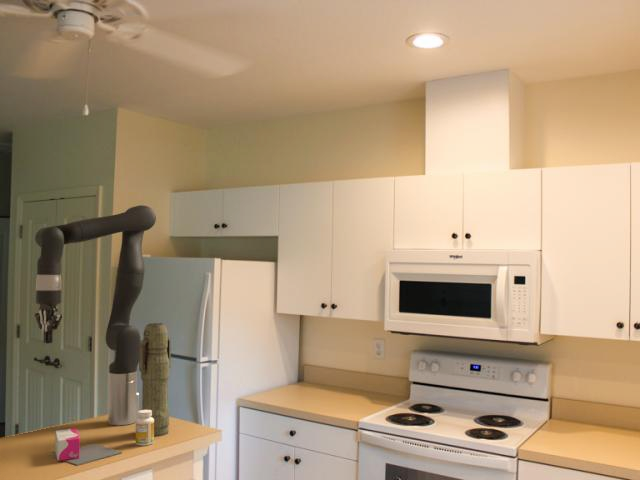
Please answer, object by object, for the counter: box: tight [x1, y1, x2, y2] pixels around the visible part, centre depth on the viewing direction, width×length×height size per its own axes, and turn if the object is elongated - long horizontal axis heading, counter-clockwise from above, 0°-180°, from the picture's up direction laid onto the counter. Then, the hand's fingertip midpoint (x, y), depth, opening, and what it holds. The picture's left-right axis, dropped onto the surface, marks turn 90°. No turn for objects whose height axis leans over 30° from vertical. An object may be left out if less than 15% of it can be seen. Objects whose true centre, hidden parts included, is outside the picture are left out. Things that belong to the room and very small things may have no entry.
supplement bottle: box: [135, 409, 155, 447], centre depth 189 cm, size 5×5×10 cm
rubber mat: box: [49, 443, 123, 466], centre depth 177 cm, size 14×14×1 cm
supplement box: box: [54, 428, 81, 461], centre depth 177 cm, size 6×6×12 cm
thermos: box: [138, 322, 172, 438], centre depth 200 cm, size 9×12×35 cm
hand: (47, 343), depth 199 cm, fingers closed
